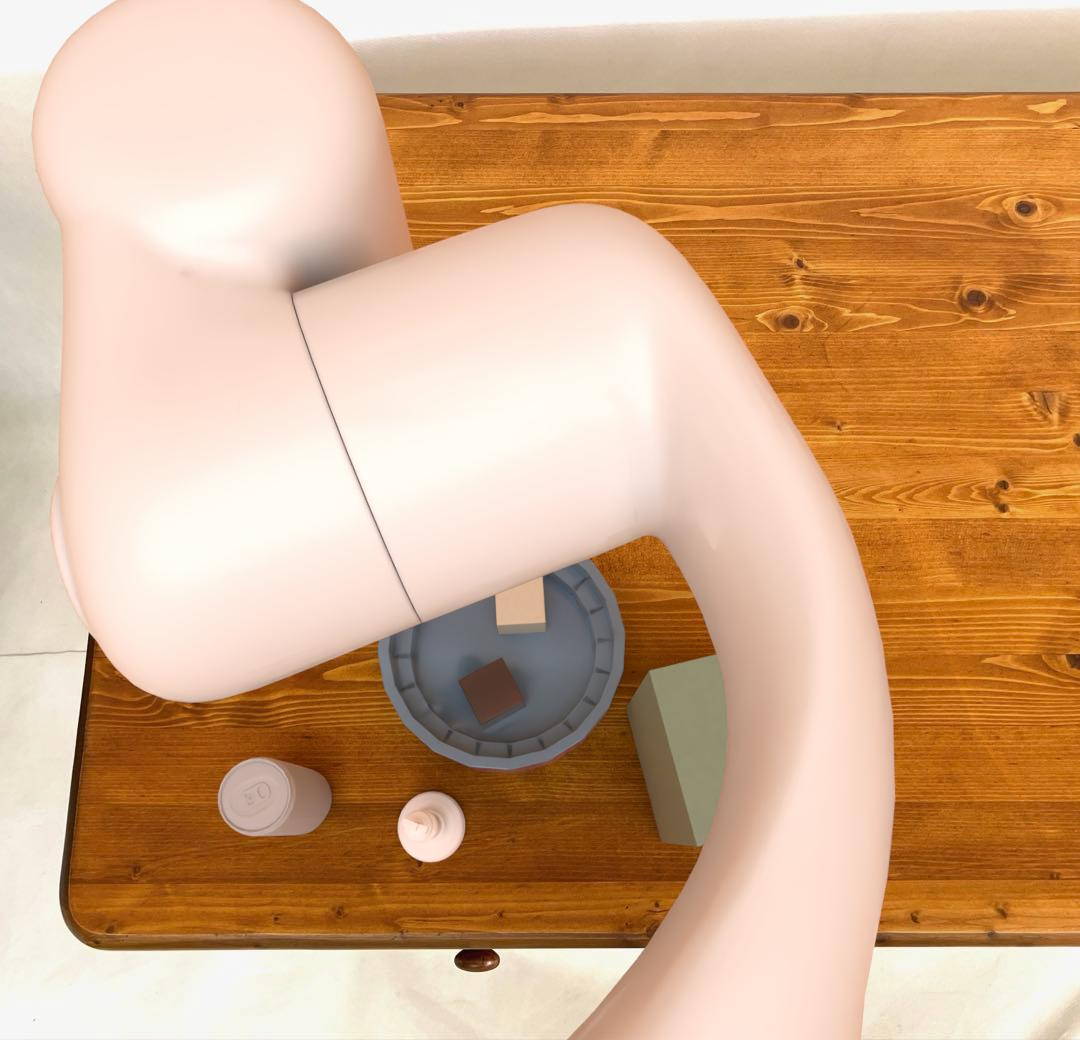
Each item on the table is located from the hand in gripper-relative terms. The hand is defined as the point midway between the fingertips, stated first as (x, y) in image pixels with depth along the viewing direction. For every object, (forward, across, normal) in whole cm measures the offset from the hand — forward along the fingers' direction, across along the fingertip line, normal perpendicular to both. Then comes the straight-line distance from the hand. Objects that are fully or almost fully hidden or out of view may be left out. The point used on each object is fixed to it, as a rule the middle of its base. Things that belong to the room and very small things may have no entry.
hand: (399, 523), depth 49 cm
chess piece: (+28, -4, -14) cm, 32 cm away
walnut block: (+27, +2, -6) cm, 28 cm away
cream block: (+27, +6, 0) cm, 28 cm away
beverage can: (+28, -13, -10) cm, 33 cm away
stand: (+28, +17, -14) cm, 35 cm away
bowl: (+28, +4, -3) cm, 28 cm away
